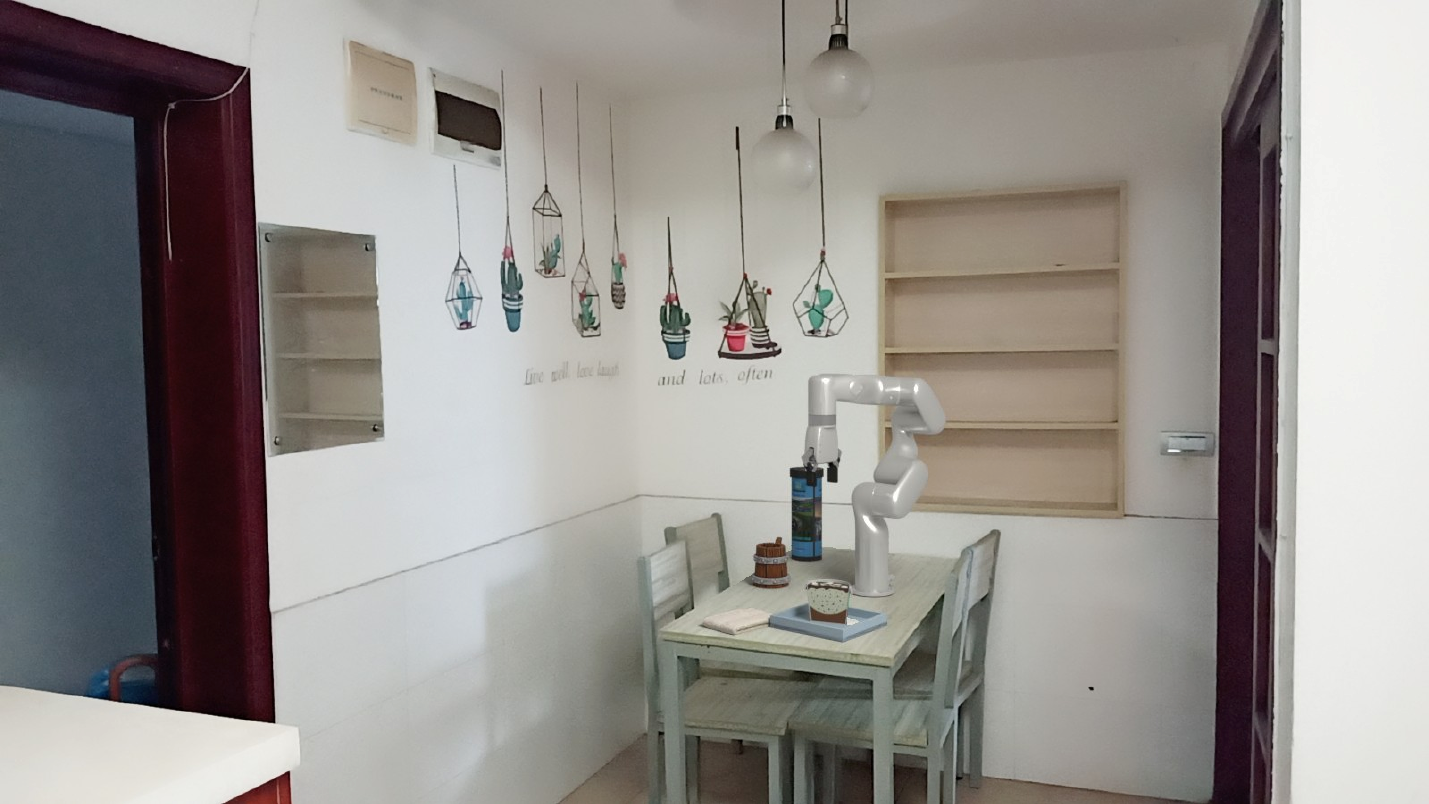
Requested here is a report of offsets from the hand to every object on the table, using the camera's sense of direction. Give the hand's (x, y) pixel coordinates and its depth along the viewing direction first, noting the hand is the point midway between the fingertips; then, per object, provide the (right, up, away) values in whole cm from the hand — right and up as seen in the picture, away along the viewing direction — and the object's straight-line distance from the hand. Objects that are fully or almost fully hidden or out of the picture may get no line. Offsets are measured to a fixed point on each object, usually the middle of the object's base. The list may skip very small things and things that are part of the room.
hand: (822, 484), depth 286 cm
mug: (-12, -32, +29) cm, 45 cm away
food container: (+1, -34, -17) cm, 38 cm away
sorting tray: (0, -34, -19) cm, 39 cm away
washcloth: (-22, -35, -17) cm, 45 cm away
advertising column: (+1, -30, +65) cm, 72 cm away
